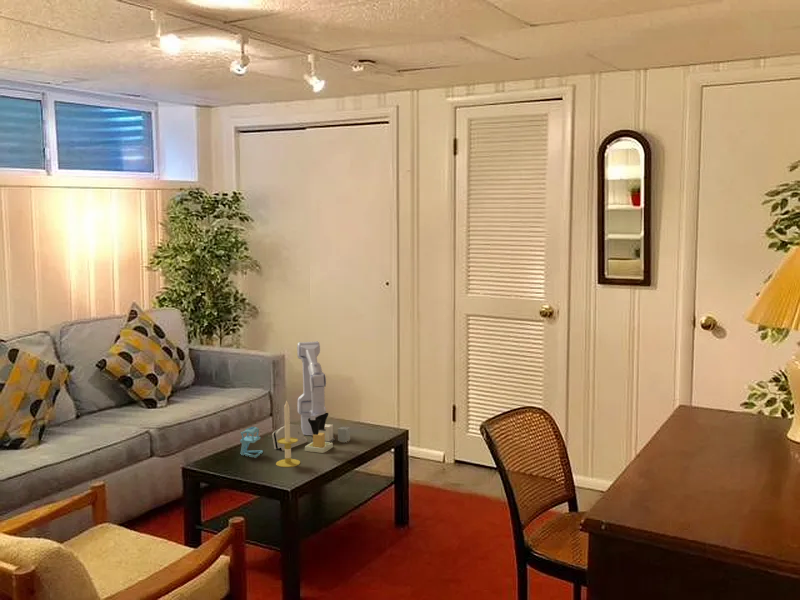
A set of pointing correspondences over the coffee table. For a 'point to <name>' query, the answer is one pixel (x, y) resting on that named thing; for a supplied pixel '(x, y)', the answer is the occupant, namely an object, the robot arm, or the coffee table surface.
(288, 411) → the candle
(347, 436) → the slate block
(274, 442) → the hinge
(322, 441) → the ochre block
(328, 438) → the cream unit
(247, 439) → the chair
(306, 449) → the sage tray
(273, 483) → the coffee table surface
